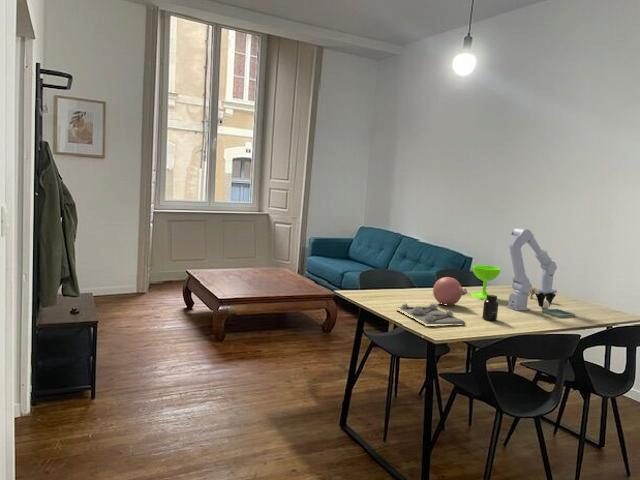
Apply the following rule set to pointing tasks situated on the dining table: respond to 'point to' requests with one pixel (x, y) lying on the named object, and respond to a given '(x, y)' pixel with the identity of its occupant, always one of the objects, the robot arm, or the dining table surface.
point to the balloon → (448, 291)
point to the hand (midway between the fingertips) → (544, 306)
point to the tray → (558, 313)
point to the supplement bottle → (490, 308)
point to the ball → (545, 304)
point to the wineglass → (484, 277)
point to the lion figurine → (533, 292)
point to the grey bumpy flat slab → (431, 314)
